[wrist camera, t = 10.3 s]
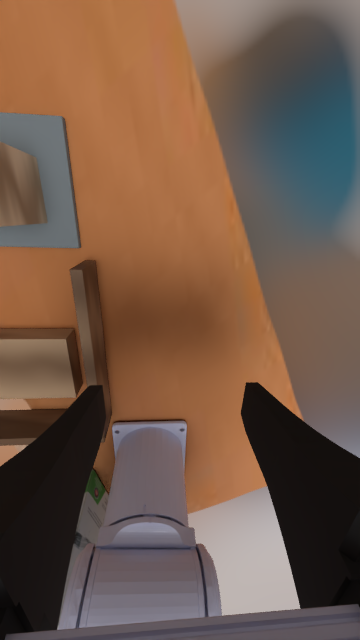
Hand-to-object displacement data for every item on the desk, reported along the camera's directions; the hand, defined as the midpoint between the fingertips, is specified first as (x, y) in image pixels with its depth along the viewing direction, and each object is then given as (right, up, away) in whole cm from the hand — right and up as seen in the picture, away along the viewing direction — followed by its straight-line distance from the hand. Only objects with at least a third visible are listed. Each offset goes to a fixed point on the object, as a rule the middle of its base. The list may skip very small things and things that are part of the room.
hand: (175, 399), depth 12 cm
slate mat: (-11, +13, +5) cm, 18 cm away
